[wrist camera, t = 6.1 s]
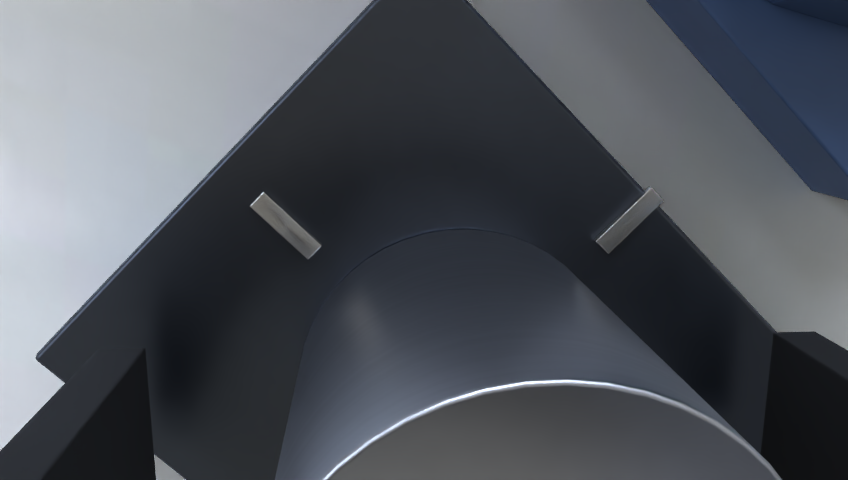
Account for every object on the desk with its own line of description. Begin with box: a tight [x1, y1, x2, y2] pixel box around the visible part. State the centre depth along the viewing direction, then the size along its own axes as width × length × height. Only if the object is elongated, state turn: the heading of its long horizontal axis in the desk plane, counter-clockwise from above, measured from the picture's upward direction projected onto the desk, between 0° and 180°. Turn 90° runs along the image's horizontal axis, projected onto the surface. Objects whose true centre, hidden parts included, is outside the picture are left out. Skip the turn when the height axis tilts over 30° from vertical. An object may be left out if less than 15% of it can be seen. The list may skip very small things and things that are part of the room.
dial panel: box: [36, 0, 777, 480], centre depth 16 cm, size 12×10×3 cm
